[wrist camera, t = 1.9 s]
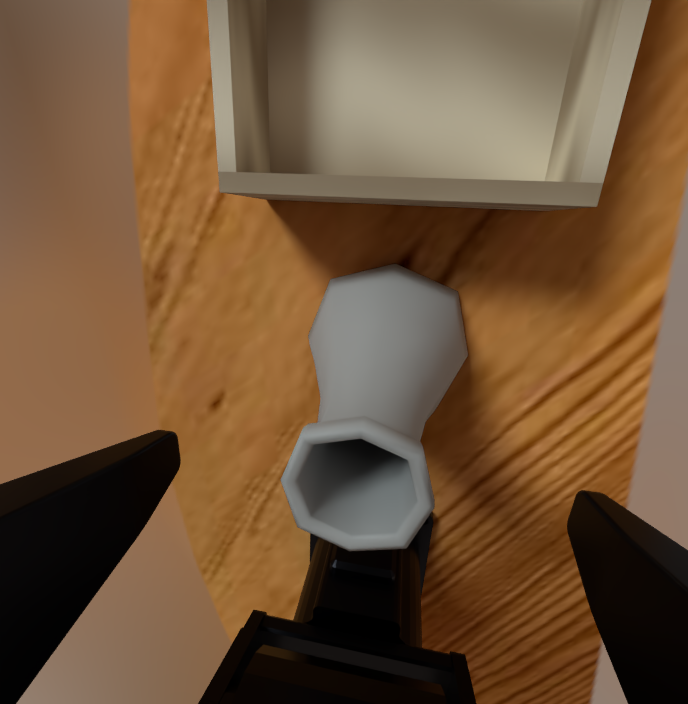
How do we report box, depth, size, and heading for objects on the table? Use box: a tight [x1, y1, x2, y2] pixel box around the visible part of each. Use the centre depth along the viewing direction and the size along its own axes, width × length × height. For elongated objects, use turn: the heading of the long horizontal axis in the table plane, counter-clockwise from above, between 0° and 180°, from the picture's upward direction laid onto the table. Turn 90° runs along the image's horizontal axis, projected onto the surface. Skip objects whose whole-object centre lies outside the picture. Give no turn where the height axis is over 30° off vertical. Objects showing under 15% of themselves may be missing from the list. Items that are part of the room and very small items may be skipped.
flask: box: [281, 264, 468, 551], centre depth 12 cm, size 7×7×10 cm
